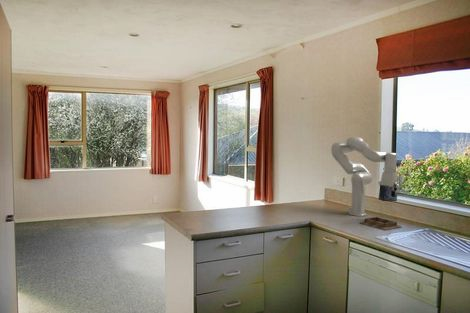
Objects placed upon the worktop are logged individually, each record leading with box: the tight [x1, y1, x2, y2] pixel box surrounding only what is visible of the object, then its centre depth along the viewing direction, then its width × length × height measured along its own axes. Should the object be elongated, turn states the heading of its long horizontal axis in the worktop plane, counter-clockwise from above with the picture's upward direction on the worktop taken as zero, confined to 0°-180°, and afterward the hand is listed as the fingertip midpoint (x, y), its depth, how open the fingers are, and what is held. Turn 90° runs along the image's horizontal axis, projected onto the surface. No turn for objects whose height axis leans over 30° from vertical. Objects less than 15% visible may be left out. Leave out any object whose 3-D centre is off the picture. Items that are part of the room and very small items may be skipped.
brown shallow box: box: [359, 216, 402, 231], centre depth 252 cm, size 20×16×4 cm
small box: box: [378, 185, 399, 202], centre depth 265 cm, size 11×6×10 cm, turn 102°
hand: (388, 195), depth 265 cm, fingers closed on small box, 7 cm apart
